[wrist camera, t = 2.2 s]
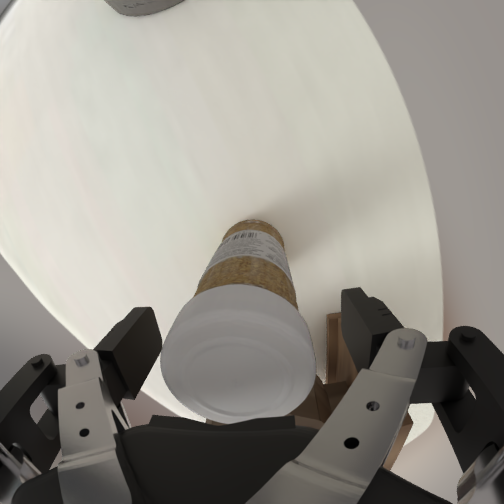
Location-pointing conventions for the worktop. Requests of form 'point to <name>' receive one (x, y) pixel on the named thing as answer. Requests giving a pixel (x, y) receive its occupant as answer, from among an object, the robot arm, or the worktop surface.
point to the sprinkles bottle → (241, 334)
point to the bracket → (336, 389)
